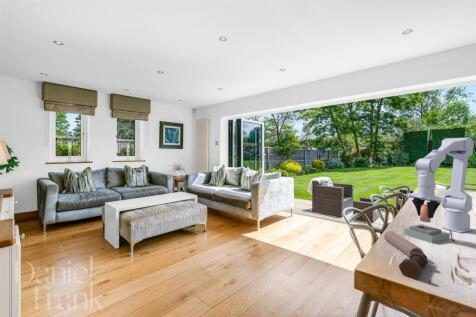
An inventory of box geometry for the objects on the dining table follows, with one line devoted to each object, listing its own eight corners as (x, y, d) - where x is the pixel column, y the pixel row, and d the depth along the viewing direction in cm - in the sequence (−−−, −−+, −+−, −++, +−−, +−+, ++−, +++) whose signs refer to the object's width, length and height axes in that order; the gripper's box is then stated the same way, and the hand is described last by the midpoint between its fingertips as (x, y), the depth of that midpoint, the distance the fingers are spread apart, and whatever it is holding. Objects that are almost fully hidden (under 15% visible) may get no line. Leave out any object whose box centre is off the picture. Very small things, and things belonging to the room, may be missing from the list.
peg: (422, 219, 105) (423, 204, 104) (432, 221, 101) (432, 205, 101) (418, 220, 103) (418, 204, 103) (427, 222, 100) (428, 206, 100)
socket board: (421, 230, 110) (421, 222, 110) (449, 239, 100) (449, 229, 100) (404, 234, 106) (404, 225, 106) (431, 243, 95) (432, 233, 95)
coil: (382, 230, 98) (410, 248, 80) (394, 229, 98) (424, 247, 80) (383, 241, 98) (411, 261, 81) (395, 240, 98) (425, 260, 80)
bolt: (424, 268, 79) (412, 283, 69) (408, 256, 82) (395, 269, 72) (435, 256, 77) (425, 270, 67) (419, 244, 80) (406, 256, 70)
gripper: (403, 184, 107) (402, 213, 108) (439, 188, 94) (438, 222, 94) (413, 183, 110) (412, 211, 110) (450, 188, 96) (449, 220, 96)
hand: (425, 216), depth 102 cm, fingers closed on peg, 4 cm apart
